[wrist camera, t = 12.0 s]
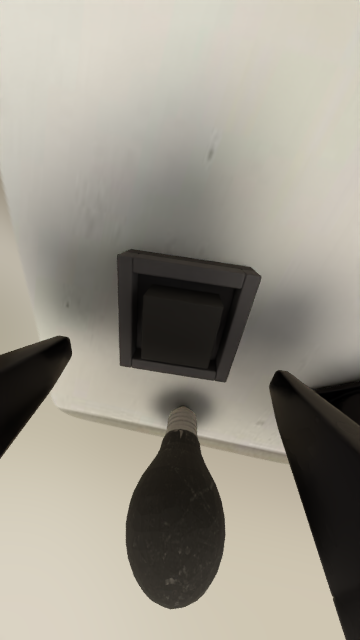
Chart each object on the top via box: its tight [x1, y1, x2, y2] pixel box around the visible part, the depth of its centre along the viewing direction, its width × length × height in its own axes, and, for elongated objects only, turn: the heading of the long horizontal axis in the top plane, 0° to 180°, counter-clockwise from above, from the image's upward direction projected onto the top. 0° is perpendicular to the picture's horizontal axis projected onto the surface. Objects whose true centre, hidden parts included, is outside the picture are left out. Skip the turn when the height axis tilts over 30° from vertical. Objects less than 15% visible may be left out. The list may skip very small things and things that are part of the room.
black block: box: [141, 284, 224, 369], centre depth 11 cm, size 4×4×2 cm
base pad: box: [117, 249, 261, 382], centre depth 12 cm, size 7×7×2 cm
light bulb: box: [126, 406, 225, 609], centre depth 13 cm, size 6×6×10 cm
